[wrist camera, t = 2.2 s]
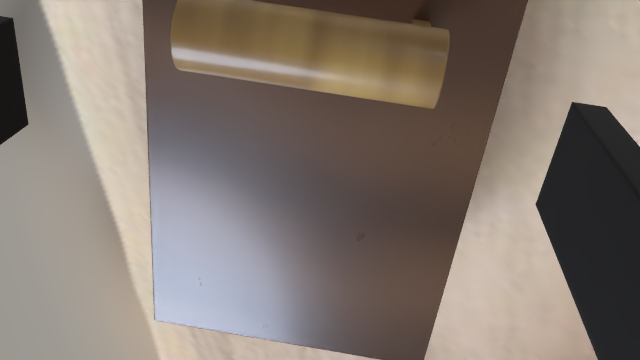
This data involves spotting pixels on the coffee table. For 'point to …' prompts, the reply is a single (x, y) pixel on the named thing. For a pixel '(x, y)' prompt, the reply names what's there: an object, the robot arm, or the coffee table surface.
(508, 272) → the coffee table surface
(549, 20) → the coffee table surface
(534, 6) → the coffee table surface
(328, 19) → the chest lid
